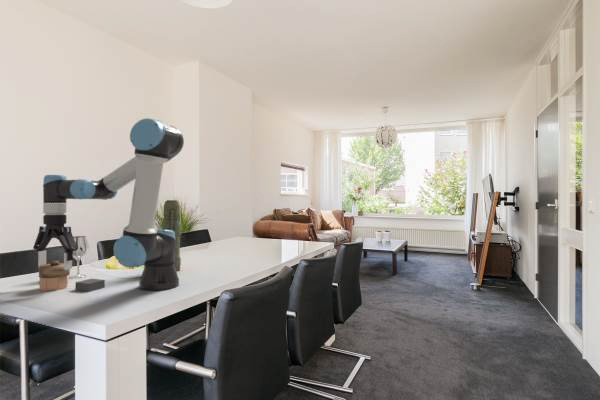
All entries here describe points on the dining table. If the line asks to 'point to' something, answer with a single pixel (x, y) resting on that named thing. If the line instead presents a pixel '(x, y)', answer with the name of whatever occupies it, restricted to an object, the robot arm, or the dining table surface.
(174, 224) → the thermos
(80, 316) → the dining table surface
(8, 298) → the dining table surface
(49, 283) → the bowl
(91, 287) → the stand
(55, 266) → the lid
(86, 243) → the wineglass
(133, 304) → the dining table surface
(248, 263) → the dining table surface
